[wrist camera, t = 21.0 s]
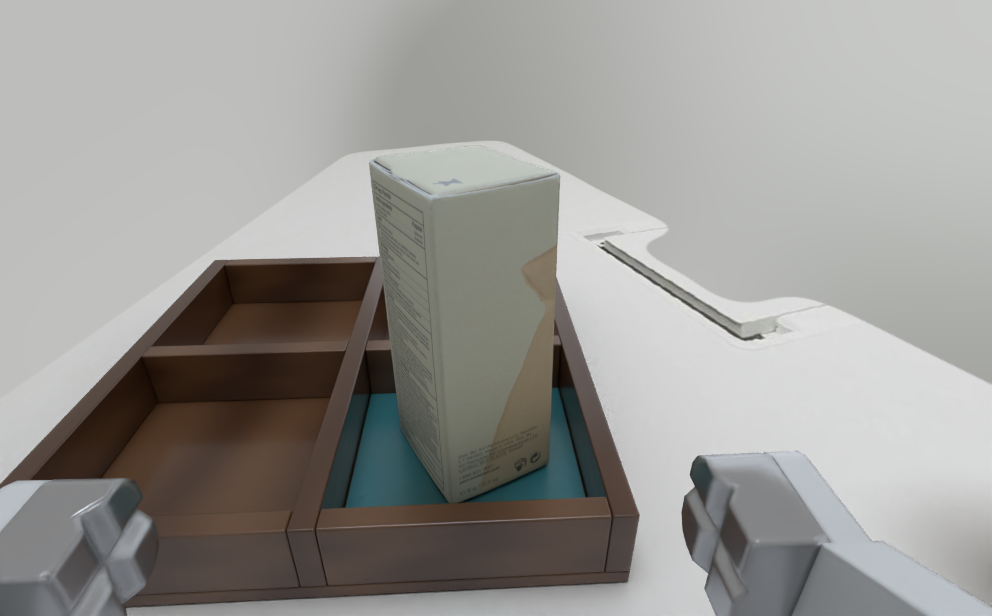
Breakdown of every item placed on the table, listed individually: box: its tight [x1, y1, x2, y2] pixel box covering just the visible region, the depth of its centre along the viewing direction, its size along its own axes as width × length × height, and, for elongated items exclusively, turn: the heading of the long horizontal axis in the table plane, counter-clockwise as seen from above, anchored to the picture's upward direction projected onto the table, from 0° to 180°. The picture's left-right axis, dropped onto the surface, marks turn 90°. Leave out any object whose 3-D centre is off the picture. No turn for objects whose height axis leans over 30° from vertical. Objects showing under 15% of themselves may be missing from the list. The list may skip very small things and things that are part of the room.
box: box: [369, 146, 560, 503], centre depth 19 cm, size 5×4×11 cm
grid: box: [0, 257, 640, 607], centre depth 25 cm, size 19×19×3 cm
